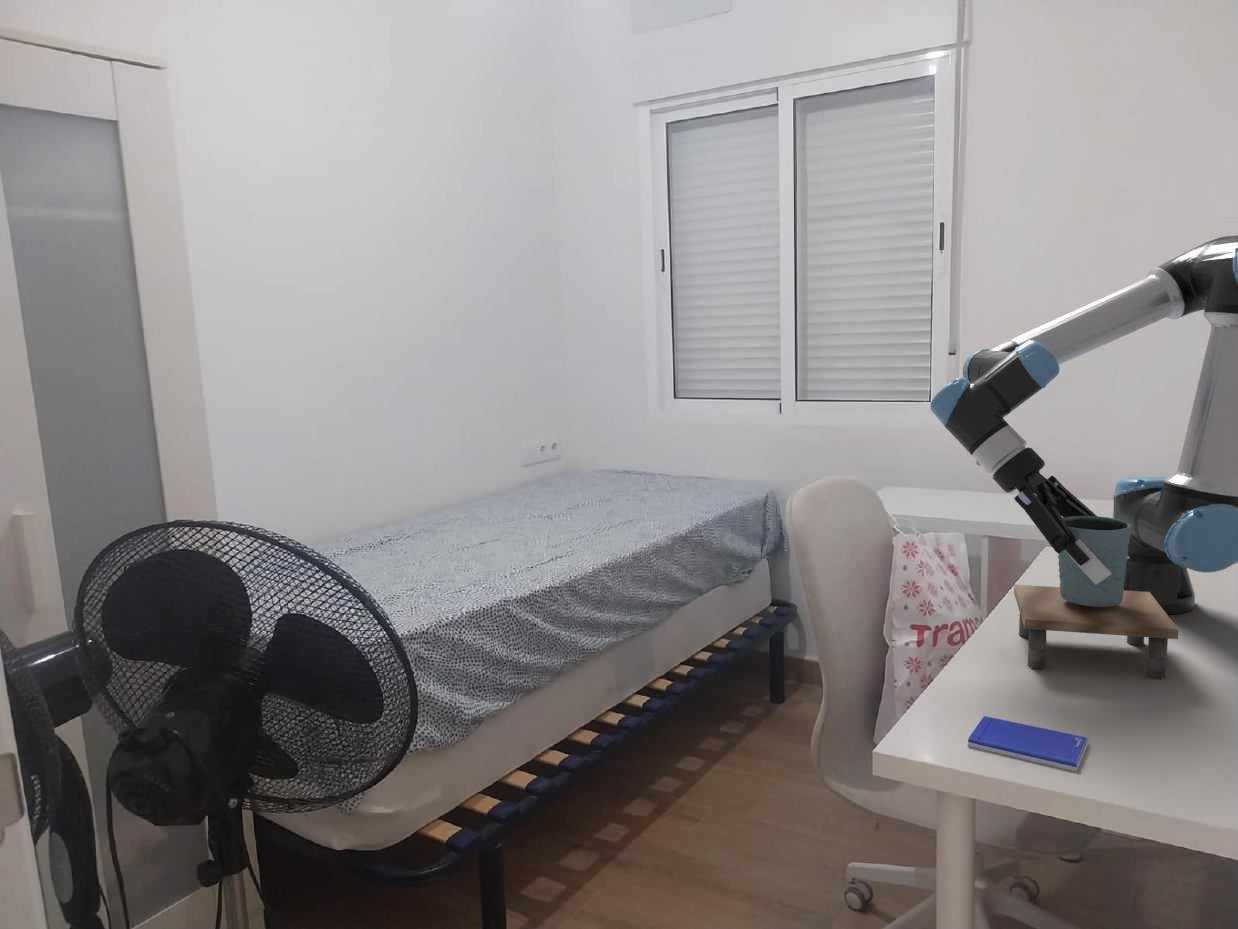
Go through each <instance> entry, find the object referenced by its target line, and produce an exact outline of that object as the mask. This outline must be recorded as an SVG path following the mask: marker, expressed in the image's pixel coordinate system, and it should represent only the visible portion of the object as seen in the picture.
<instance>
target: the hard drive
mask: <svg viewBox="0 0 1238 929" xmlns="http://www.w3.org/2000/svg"><path fill="white" fill-rule="evenodd" d="M1088 745H1089V737H1087V736H1083V735H1076V734H1073V733H1066V732H1063V731H1058V730H1053V729H1048V728H1043V727H1039V726H1034V725H1029V724H1024V723H1018V722H1014V721H1011V720H1005V719H1001V718H995V717H991V716H986V715H983V717H982V718H981V720H980V721H979V722H978V724H977V725H976V727H975V728H974V730H973V731H972V733H970V735H969V737H968V739H967V746H968V747H971V748H975V749H979V750H983V751H986V752H993V753H996V754H1000V755H1004V756H1005V755H1006V756H1010V757H1014V758H1016V759H1017V758H1018V759H1021V760H1024V761H1030V762H1034V763H1038V764H1044V765H1047V766H1051V767H1056V768H1060V769H1064V770H1068V771H1073V772H1078V769H1079V768H1080V767H1079V766H1080V765H1081V762H1082V760H1083V757H1084V755H1085V753H1086V750H1087V748H1088Z"/></svg>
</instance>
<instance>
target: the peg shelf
mask: <svg viewBox="0 0 1238 929" xmlns="http://www.w3.org/2000/svg"><path fill="white" fill-rule="evenodd" d="M1013 594H1014V598H1015V601H1016V605H1017V608H1018V611H1019V621H1018V622H1019V623H1018V625H1019V626H1018V635H1019V636H1020V637H1023V638H1026V637H1029V638H1028V646H1027V667H1028V666H1029V667H1028V668H1030V667H1032V668H1035V669H1034V670H1044V669H1045V668H1046V656H1047V655H1046V654H1047V653H1046V652H1047V631H1051V632H1052V631H1053V632H1065V633H1067V632H1068V633H1077V634H1078V633H1079V634H1081V633H1082V634H1095V635H1096V634H1098V635H1110V636H1111V635H1113V636H1124V637H1126V643H1127V644H1129V645H1131V644H1132V646H1144V644H1145V638H1148V640H1147V642H1148V644H1147V658H1146V663H1147V664H1146V674H1147V675H1146V676H1147V677H1148V676H1149V677H1148V678H1150V677H1151V678H1150V679H1154V678H1159V679H1158V680H1163V679H1162V678H1164V679H1166V675H1167V674H1166V671H1167V660H1168V659H1167V658H1168V657H1167V656H1168V642H1169V640H1170V639H1171V640H1179V628H1178V627H1177V625H1176V624H1175V623H1174V622H1173V620H1172V619H1171V617H1169V614H1166V613H1165V611H1164V610H1163V609H1162V607H1161V606H1160V605H1159V604H1158V602H1157V601H1156V600H1155V598H1154V597H1153V596H1152V595H1151V593H1150V592H1141V591H1123V599H1122V602H1121V603H1120V604H1119V605H1115V606H1106V607H1097V606H1086V605H1080V604H1076V603H1072V602H1069V601H1067V600H1065V599H1063V598H1062V597H1061V594H1060V586H1046V585H1045V586H1044V585H1027V584H1026V585H1025V584H1013ZM1044 667H1045V668H1044ZM1032 668H1031V669H1032ZM1043 668H1044V669H1043Z"/></svg>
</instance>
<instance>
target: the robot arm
mask: <svg viewBox="0 0 1238 929" xmlns="http://www.w3.org/2000/svg"><path fill="white" fill-rule="evenodd" d="M1200 311H1203V316H1204V318H1205V319H1206V320H1207V322H1208V323H1209V324H1210V326H1211V328H1210V331H1209V338H1208V341H1207V345H1206V349H1205V353H1204V359H1203V362H1202V366H1201V371H1200V375H1199V380H1198V382H1197V387H1196V390H1195V395H1194V400H1193V404H1192V407H1191V412H1190V417H1189V421H1188V426H1187V428H1186V432H1185V437H1184V442H1183V446H1182V450H1181V455H1180V459H1179V463H1178V466H1177V470H1175V472H1174V473H1173V474H1171V475H1169V476H1136V477H1135V476H1133V477H1132V476H1131V477H1123V478H1119V480H1118V481H1116V484H1115V486H1114V494H1113V497H1112V499H1113V514H1112V518H1115V519H1119V520H1123V521H1126V522H1128V523H1130V524H1131V532H1130V540H1129V545H1128V557H1127V563H1126V571H1125V573H1126V574H1125V576H1124V577H1125V582H1124V590H1123V591H1141V592H1150V593H1151V595H1152V596H1153V597H1154V598H1155V600H1156V601H1157V602H1158V604H1159V605H1160V606H1161V607H1162V609H1163V610H1164V611H1165V613H1166V614H1167V615H1174V614H1175V615H1176V614H1183V613H1188V612H1190V611H1192V610H1193V609H1195V604H1196V603H1195V601H1196V600H1195V599H1196V595H1195V590H1194V587H1193V585H1192V581H1191V578H1190V575H1189V572H1188V570H1191V571H1195V572H1199V573H1216V572H1221V571H1224V570H1226V569H1228V568H1229V567H1232V566H1233V565H1235V564H1237V563H1238V234H1237V235H1226V236H1222V237H1217V238H1214V239H1211V240H1209V241H1206V242H1204V243H1202V244H1199V245H1197V246H1196V247H1194V248H1192V249H1190V250H1187V251H1186V252H1184V253H1182V254H1180V255H1178V256H1175V257H1174V258H1172V259H1170V260H1168V261H1166V262H1164V263H1162V264H1160V265H1158V266H1155V267H1154V268H1153V267H1152V268H1151V269H1150V270H1149V271H1148V272H1147V275H1146V278H1143V279H1140V280H1139V281H1136V282H1135V283H1132V284H1130V285H1128V286H1126V287H1123V288H1122V289H1119V290H1117V291H1115V292H1113V293H1111V294H1109V295H1106V296H1105V297H1102V298H1100V299H1098V300H1095V301H1093V302H1091V303H1089V304H1087V305H1085V306H1082V307H1079V308H1078V309H1075V310H1074V311H1071V312H1068V313H1066V314H1064V315H1063V316H1060V317H1058V318H1056V319H1054V320H1052V321H1048V322H1047V323H1045V324H1043V325H1042V324H1041V325H1040V326H1038V327H1036V328H1034V329H1032V330H1030V331H1027V332H1024V333H1023V334H1021V335H1018V336H1017V337H1015V338H1012V339H1010V340H1008V341H1006V342H1003V343H1001V344H999V345H996V346H995V347H993V348H989V349H988V348H984V349H981V350H978V351H977V350H976V351H974V352H973V353H972V354H970V355H969V356H968V357H967V358H966V359H965V361H964V363H963V367H962V376H963V377H957V378H955V379H954V380H951V382H949V383H948V384H946V385H945V386H944V387H942V388H941V389H939V391H938V392H937V393H936V394H935V395H934V397H933V398H932V399H931V402H930V411H931V412H933V414H934V416H935V417H936V418H937V419H938V420H939V422H941V424H942V425H943V428H945V429H946V430H947V431H948V432H949V433H950V434H951V435H952V436H953V437H954V438H955V439H956V440H957V442H958V443H960V445H961V446H962V447H963V448H965V450H966V451H967V452H969V453H968V454H970V455H971V457H973V458H974V460H975V465H977V466H979V467H980V466H981V467H982V468H983V469H984V470H985V472H987V473H988V474H991V473H993V474H992V479H993V480H994V481H995V483H996V484H997V485H998V486H999V487H1000V488H1001V489H1002V490H1003V492H1004V493H1008V494H1009V493H1012V492H1014V491H1016V490H1017V491H1018V494H1017V495H1016V496H1014V501H1015V502H1016V503H1017V504H1018V505H1019V506H1020V507H1021V508H1022V509H1023V510H1024V512H1025V513H1026V514H1027V516H1028V517H1029V519H1031V521H1032V522H1033V523H1034V525H1035V526H1036V527H1037V529H1038V530H1039V532H1040V534H1042V536H1043V537H1044V538H1045V540H1046V542H1048V544H1049V545H1050V546H1051V548H1053V550H1054V551H1055V553H1057V554H1058V553H1060V552H1062V551H1063V550H1064V549H1065V550H1064V551H1065V552H1066V553H1067V555H1068V556H1069V557H1070V558H1071V559H1072V560H1073V561H1074V562H1075V563H1076V564H1077V565H1078V566H1079V568H1080V569H1081V570H1082V571H1083V572H1084V573H1085V574H1086V575H1087V576H1088V577H1089V578H1090V579H1091V580H1092V582H1093V583H1094V584H1095V585H1097V584H1098V583H1100V582H1101V581H1102V580H1104V579H1105V578H1107V577H1108V576H1110V575H1111V574H1112V573H1111V572H1110V571H1109V570H1108V569H1107V568H1106V567H1105V565H1104V564H1103V563H1102V562H1101V561H1100V560H1099V559H1098V558H1097V557H1096V556H1095V555H1094V554H1093V553H1092V552H1091V551H1090V549H1089V548H1088V547H1087V546H1086V545H1085V544H1084V543H1083V542H1082V541H1081V540H1080V539H1079V540H1077V541H1076V539H1075V537H1074V536H1073V534H1072V532H1071V531H1070V529H1069V528H1068V526H1067V524H1066V523H1065V521H1064V520H1063V518H1064V517H1071V516H1098V515H1097V514H1096V513H1094V512H1093V511H1092V510H1091V509H1090V508H1089V507H1088V506H1086V505H1085V504H1084V503H1083V502H1082V501H1081V500H1080V499H1079V498H1077V497H1076V496H1075V495H1074V494H1073V493H1071V491H1069V490H1068V489H1067V488H1066V487H1065V486H1064V485H1063V484H1062V483H1061V482H1060V481H1059V479H1057V477H1055V476H1054V475H1050V476H1049V477H1048V478H1046V477H1045V476H1044V475H1043V474H1042V473H1040V470H1042V469H1043V468H1044V467H1045V464H1046V462H1045V461H1044V459H1043V458H1042V457H1041V456H1039V454H1038V453H1037V452H1036V451H1035V450H1034V449H1033V448H1032V447H1026V446H1027V440H1025V439H1024V438H1023V437H1022V436H1021V435H1020V434H1019V433H1018V432H1017V431H1016V430H1015V429H1014V428H1013V427H1012V426H1011V425H1010V424H1009V423H1008V422H1007V421H1006V420H1005V419H1004V418H1005V417H1006V416H1008V415H1009V414H1011V413H1012V412H1013V411H1014V410H1016V409H1017V408H1018V407H1020V406H1021V405H1022V404H1024V403H1025V402H1026V401H1027V400H1029V399H1031V398H1032V397H1033V396H1035V395H1036V394H1038V392H1040V391H1041V390H1042V389H1045V388H1046V387H1047V385H1049V383H1051V381H1053V380H1054V379H1055V378H1056V377H1057V376H1058V375H1059V373H1060V370H1061V369H1060V365H1063V364H1065V363H1067V362H1068V361H1072V360H1073V359H1076V358H1078V357H1080V356H1082V355H1085V354H1087V353H1089V352H1092V351H1093V350H1096V349H1098V348H1101V347H1102V346H1105V345H1108V344H1110V343H1112V342H1114V341H1116V340H1118V339H1120V338H1122V337H1125V336H1127V335H1130V334H1132V333H1134V332H1136V331H1138V330H1140V329H1143V328H1145V327H1148V326H1150V325H1152V324H1154V323H1157V322H1159V321H1161V320H1163V319H1165V318H1167V319H1169V320H1170V319H1171V320H1178V319H1180V318H1182V317H1185V316H1187V315H1189V314H1193V313H1196V312H1200ZM1075 541H1076V542H1075Z"/></svg>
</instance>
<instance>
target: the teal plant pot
mask: <svg viewBox="0 0 1238 929" xmlns="http://www.w3.org/2000/svg"><path fill="white" fill-rule="evenodd" d="M1062 518H1063V517H1062ZM1063 520H1064V521H1065V523H1066V524H1067V526H1068V528H1069V529H1070V531H1071V532H1072V534H1073V536H1074V537H1075V539H1076V541H1077V540H1079V539H1080V540H1081V541H1082V542H1083V543H1084V544H1085V545H1086V546H1087V547H1088V548H1089V549H1090V551H1091V552H1092V553H1093V554H1094V555H1095V556H1096V557H1097V558H1098V559H1099V560H1100V561H1101V562H1102V563H1103V564H1104V565H1105V567H1106V568H1107V569H1108V570H1109V571H1110V572H1111V573H1112V574H1111V575H1110V576H1108V577H1107V578H1105V579H1104V580H1102V581H1101V582H1100V583H1098V584H1097V585H1095V584H1094V583H1093V582H1092V580H1091V579H1090V578H1089V577H1088V576H1087V575H1086V574H1085V573H1084V572H1083V571H1082V570H1081V569H1080V568H1079V566H1078V565H1077V564H1076V563H1075V562H1074V561H1073V560H1072V559H1071V558H1070V557H1069V556H1068V555H1067V553H1066V552H1065V551H1064V550H1065V549H1064V550H1063V551H1062V552H1060V553H1057V554H1058V556H1057V557H1058V568H1059V569H1058V571H1059V575H1058V576H1059V581H1060V583H1059V587H1060V594H1061V597H1062V598H1063V599H1065V600H1067V601H1069V602H1072V603H1076V604H1080V605H1086V606H1097V607H1106V606H1115V605H1119V604H1120V603H1121V602H1122V599H1123V590H1124V582H1125V577H1124V576H1125V574H1126V573H1125V571H1126V563H1127V557H1128V545H1129V540H1130V532H1131V524H1130V523H1128V522H1126V521H1123V520H1119V519H1115V518H1113V517H1107V516H1099V515H1097V516H1071V517H1064V518H1063ZM1076 541H1075V542H1076Z"/></svg>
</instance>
